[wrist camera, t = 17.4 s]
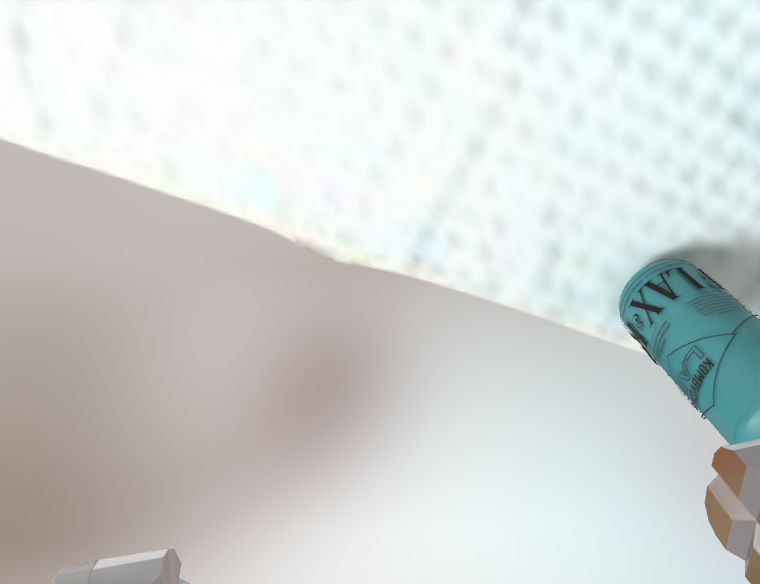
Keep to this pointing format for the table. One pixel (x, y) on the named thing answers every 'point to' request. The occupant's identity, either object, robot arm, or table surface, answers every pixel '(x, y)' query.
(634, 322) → the beverage bottle
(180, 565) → the robot arm
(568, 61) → the table surface
